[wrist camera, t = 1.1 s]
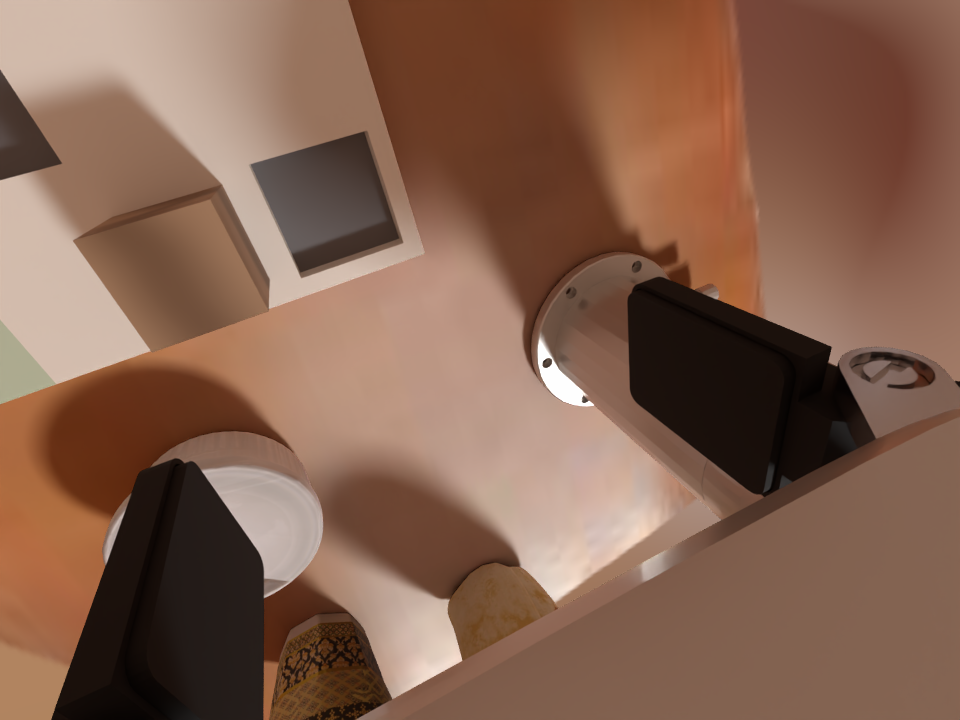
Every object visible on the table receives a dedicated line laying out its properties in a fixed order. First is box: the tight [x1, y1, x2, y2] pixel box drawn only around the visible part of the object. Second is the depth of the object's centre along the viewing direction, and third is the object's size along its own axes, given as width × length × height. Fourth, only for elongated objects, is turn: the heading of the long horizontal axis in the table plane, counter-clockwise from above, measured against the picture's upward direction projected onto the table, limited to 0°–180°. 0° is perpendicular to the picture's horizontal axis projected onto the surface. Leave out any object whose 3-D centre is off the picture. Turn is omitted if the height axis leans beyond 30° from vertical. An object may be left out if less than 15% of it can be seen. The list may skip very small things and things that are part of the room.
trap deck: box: [0, 0, 425, 404], centre depth 21 cm, size 28×16×2 cm, turn 103°
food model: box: [448, 562, 558, 660], centre depth 37 cm, size 10×7×20 cm
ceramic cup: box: [269, 613, 392, 720], centre depth 37 cm, size 13×10×10 cm
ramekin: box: [102, 431, 323, 598], centre depth 29 cm, size 11×11×5 cm
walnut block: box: [73, 185, 270, 352], centre depth 21 cm, size 5×5×5 cm
